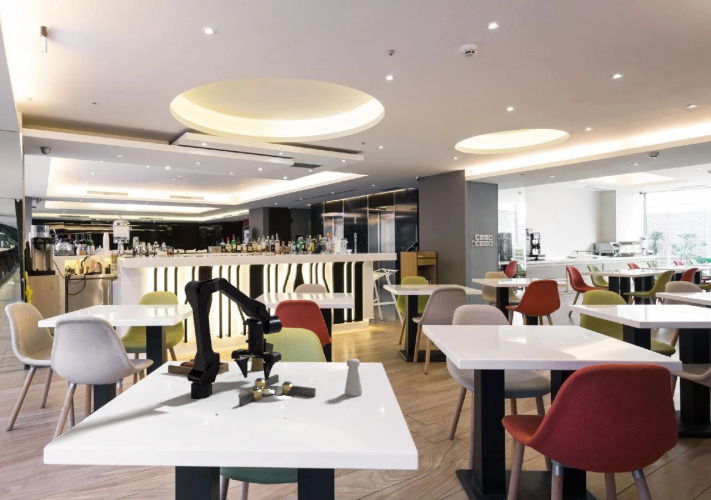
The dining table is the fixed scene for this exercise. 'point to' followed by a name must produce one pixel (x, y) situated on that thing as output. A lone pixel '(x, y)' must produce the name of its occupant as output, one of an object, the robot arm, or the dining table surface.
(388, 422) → the dining table surface
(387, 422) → the dining table surface
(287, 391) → the knob right
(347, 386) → the salt shaker
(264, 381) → the knob left
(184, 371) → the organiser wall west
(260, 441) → the dining table surface
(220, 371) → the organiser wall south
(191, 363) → the sunglasses case
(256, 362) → the cork
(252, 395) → the levelling base
